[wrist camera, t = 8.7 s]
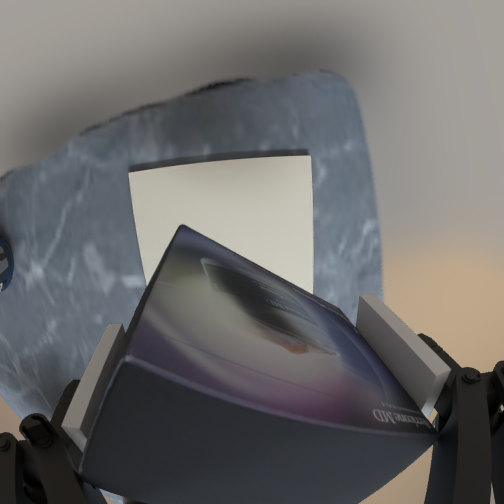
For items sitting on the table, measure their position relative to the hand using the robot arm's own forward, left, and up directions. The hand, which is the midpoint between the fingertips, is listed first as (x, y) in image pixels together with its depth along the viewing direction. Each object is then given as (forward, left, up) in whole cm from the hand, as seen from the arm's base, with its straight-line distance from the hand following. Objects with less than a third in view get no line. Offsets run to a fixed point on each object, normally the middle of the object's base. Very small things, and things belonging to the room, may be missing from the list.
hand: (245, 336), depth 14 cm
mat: (0, 0, -14) cm, 14 cm away
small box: (0, 0, -2) cm, 2 cm away
